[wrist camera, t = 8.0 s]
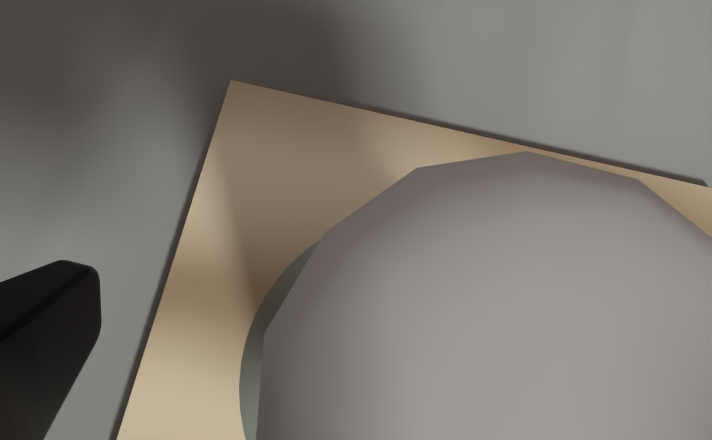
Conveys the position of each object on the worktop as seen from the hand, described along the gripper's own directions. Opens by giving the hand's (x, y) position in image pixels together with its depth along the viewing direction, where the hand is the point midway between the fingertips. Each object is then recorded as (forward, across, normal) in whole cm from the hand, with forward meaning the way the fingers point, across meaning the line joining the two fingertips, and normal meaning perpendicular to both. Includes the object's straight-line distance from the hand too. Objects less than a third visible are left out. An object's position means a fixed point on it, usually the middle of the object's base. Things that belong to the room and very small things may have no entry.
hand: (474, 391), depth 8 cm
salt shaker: (+7, 0, +7) cm, 10 cm away
